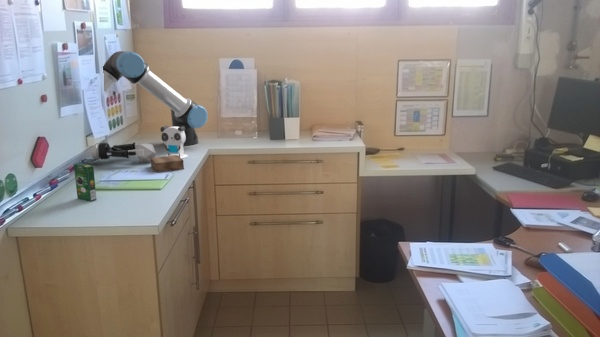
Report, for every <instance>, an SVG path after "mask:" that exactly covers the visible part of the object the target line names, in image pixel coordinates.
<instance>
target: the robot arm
mask: <svg viewBox="0 0 600 337" xmlns="http://www.w3.org/2000/svg"><path fill="white" fill-rule="evenodd" d="M103 65H104V66H103ZM103 65H102V67H103V73H104V91H105V92H106V93H107V92H108V91H109V89H110V88H111V87H112V85H113V84H114V83H118V82H119V80H120V79H121V78H125V79H126V80H127V81H129V82H130V83H131V84H133V85H137V84H138V85H139V86H140V87H142V88H143V89H144V90H146V91H147V92H148V93H149V94H150V95H152V96H153V97H155V98H156V99H158V100H159V101H160V102H161V103H163V105H165V106H167V107H168V108H169V109H170V112H171V113H170V116H171V127H174V126H176V127H182V126H184V127H185V130H184V132H185V135H186V140H185V142H184V144H183V147H184V146H192V145H193V146H194V145H196V144H199V136H198V134H197V131H196V129H200V128H203V126H205V125H206V123H207V121H208V118H209V115H208V111H207V109H206V108H205V107H204V106H202V105H199V104H197V103H196V102H195V101H194V100H192V99H191V98H190V97H187V98H185V97H183V95H181V94H180V93H178V91H176V90H175V89H174V88H172V87H171V85H169V84H168V83H166V82H165V81H164V80H163V79H161V78H160V77H159V76H158V75H156V74H155V73H154V72H153V71H151V69H150V67H149V66H150V65H149V64H148V63H146V62H145V61H144V59H143V58H142V56H141V55H140V54H138V53H136V52H134V51H130V50H127V51H121V50H120V51H116V52H114V53H112V54H111V55H109V57H108V59H107V60H106V61H105V63H104V64H103ZM95 143H96V144H95V145H94V146H93V147H92V148H91V154H92V157H93V158H94V159H96V160H100V159H101V160H109V159H110V157H111V158H112V157H115V158H124V159H129V157H138V156H144V150H138V148H139V147H140V145H141V144H142V143H136V142H132V143H127V144H126V143H125V144H118V145H117V144H114V145H112V147H111V146H110V143H109V142H100V143H99V142H95Z"/></svg>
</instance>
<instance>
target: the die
mask: <svg viewBox="0 0 600 337" xmlns="http://www.w3.org/2000/svg"><path fill="white" fill-rule="evenodd" d="M140 144H141V145H140V147H139V148H138V150H144V156H137V158H138V160H139V162H140V163H151V158H154V157H157V154H158V153H157V151H156V149H155V147H154V145H153V144H152V143H151V144H150V143H140Z"/></svg>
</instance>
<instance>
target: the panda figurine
mask: <svg viewBox="0 0 600 337" xmlns="http://www.w3.org/2000/svg"><path fill="white" fill-rule="evenodd" d="M184 130H185V127H184V126H182V127H176V126H174V127H172V126H170V127H169V126H168V125H164V126H161V127H160V132H161V138H160V139H161V141H162V142H163V144H164V145H165V147H164V148H165V149H166V151H167V155H166V156H172V155H178V156H179V157H180V158H181V159H182V160H184V159H187V158H189V155H188V154H186V153H185V152H184V146H183V144H184V142H185V140H186V135H185V132H184Z"/></svg>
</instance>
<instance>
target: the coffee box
mask: <svg viewBox="0 0 600 337" xmlns="http://www.w3.org/2000/svg"><path fill="white" fill-rule="evenodd" d="M94 168H95V167H94V165H91V164H86V163H82V162H77V163H73V169H74V171H73V172H74V177H75V186H76V187H75V188H76V196H77V199H79V200H84V201H87V202H94V201H97V192H96V181H95V180H96V179H95V171H94Z"/></svg>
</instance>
